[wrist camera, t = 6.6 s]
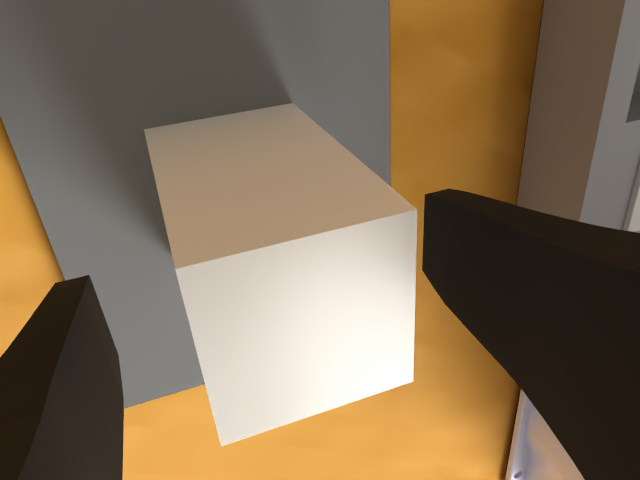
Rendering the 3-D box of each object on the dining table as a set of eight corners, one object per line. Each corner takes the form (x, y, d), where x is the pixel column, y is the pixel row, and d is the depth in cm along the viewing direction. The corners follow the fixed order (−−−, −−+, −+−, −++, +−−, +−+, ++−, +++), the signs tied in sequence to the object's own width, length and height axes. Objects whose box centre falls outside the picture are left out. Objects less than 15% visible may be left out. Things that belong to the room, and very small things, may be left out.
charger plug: (305, 228, 17) (412, 381, 11) (177, 259, 16) (221, 446, 10) (292, 103, 14) (417, 209, 9) (143, 129, 13) (175, 269, 8)
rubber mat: (385, 319, 20) (391, 327, 20) (116, 399, 18) (116, 410, 17) (380, -118, 13) (389, -120, 13) (-75, -88, 11) (-82, -89, 10)
